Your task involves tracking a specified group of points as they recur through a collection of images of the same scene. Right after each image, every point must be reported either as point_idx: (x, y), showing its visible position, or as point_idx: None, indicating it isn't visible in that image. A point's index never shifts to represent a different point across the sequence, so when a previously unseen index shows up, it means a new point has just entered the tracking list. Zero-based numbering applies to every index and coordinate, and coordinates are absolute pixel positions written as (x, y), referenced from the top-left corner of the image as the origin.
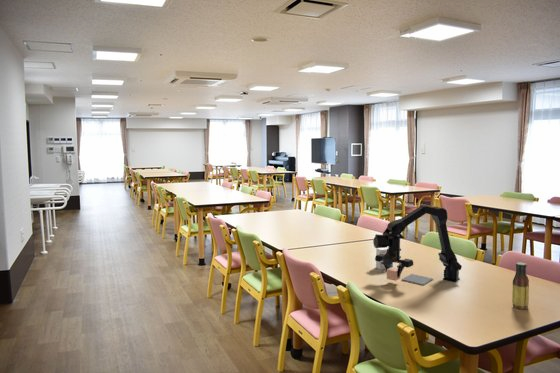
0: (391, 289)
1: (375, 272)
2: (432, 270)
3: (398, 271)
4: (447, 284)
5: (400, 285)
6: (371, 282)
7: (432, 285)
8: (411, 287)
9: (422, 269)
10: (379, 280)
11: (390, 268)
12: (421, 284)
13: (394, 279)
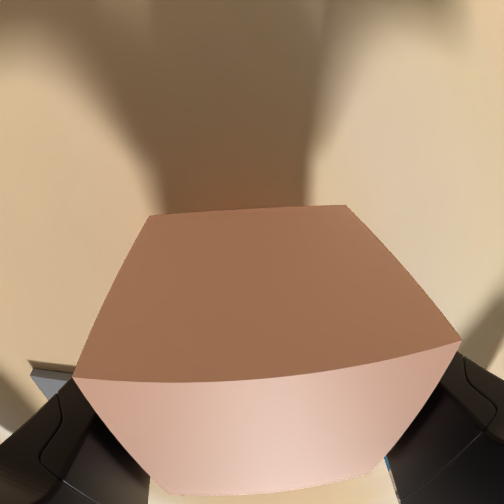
0: (125, 9)
1: (472, 356)
2: (205, 501)
3: (69, 411)
4: (20, 425)
5: (129, 244)
6: (472, 97)
7: (22, 392)
8: (27, 272)
9: (245, 496)
10: (429, 223)
11: (372, 441)
12: (45, 373)
13: (171, 223)
